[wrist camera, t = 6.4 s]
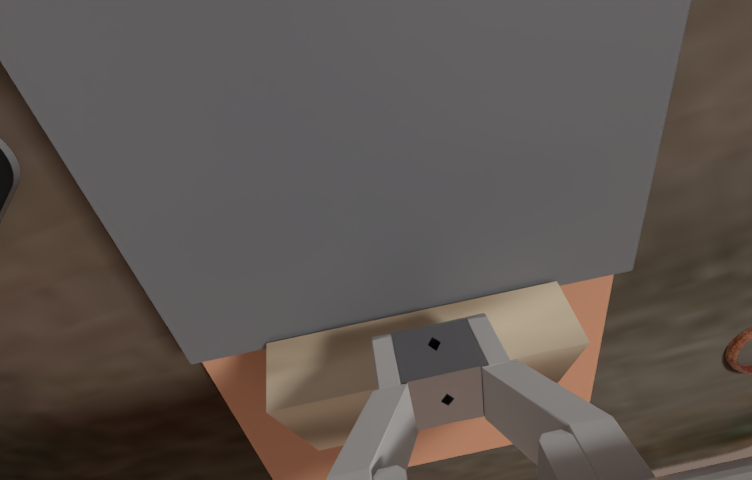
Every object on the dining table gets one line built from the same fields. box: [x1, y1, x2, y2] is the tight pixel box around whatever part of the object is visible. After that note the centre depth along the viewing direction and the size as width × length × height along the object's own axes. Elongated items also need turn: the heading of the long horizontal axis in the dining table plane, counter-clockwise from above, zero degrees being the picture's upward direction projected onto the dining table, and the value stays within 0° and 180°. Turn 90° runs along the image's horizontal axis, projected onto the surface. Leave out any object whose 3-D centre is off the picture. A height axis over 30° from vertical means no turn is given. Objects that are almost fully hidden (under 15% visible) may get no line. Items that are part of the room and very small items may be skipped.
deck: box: [0, 0, 691, 364], centre depth 9 cm, size 16×14×2 cm
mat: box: [202, 274, 614, 480], centre depth 17 cm, size 12×16×1 cm
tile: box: [266, 281, 590, 451], centre depth 14 cm, size 6×9×2 cm, turn 100°
